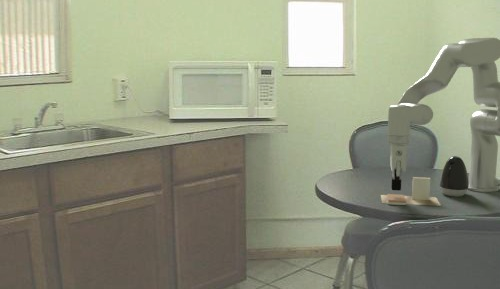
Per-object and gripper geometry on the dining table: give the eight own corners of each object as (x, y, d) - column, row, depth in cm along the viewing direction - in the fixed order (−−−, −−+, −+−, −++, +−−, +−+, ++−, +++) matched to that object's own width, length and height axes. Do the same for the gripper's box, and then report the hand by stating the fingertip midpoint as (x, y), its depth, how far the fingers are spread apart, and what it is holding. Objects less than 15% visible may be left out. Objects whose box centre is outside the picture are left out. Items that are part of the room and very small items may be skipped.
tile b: (403, 194, 184) (406, 200, 177) (403, 199, 185) (405, 205, 177) (386, 194, 186) (388, 199, 178) (386, 198, 186) (388, 204, 178)
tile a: (428, 198, 185) (429, 177, 183) (429, 200, 183) (430, 178, 182) (411, 198, 186) (412, 177, 184) (412, 199, 184) (413, 177, 183)
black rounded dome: (433, 195, 191) (436, 156, 188) (446, 190, 198) (448, 152, 196) (460, 201, 184) (463, 160, 181) (472, 195, 191) (475, 156, 188)
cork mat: (436, 198, 187) (436, 197, 187) (441, 207, 176) (441, 205, 176) (380, 196, 191) (380, 194, 190) (382, 204, 180) (382, 202, 180)
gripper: (411, 143, 171) (409, 195, 174) (407, 136, 186) (404, 185, 189) (388, 142, 173) (386, 194, 176) (386, 136, 187) (384, 184, 190)
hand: (396, 189), depth 182 cm, fingers closed
